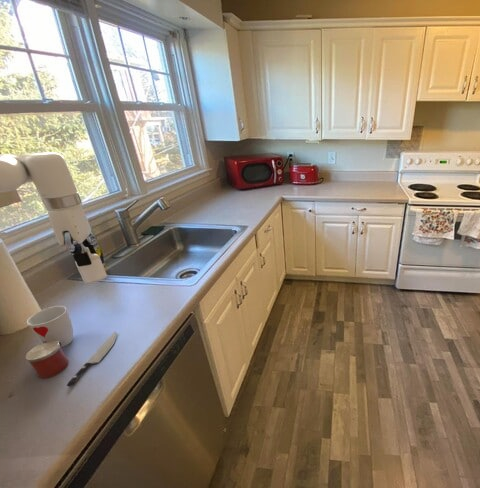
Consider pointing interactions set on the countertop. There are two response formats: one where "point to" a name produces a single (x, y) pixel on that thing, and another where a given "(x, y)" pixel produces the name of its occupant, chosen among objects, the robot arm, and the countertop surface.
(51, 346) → the spice tin
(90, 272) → the eye dropper bottle
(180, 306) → the countertop surface
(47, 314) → the cup
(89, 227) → the robot arm
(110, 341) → the chef's knife
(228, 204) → the countertop surface
